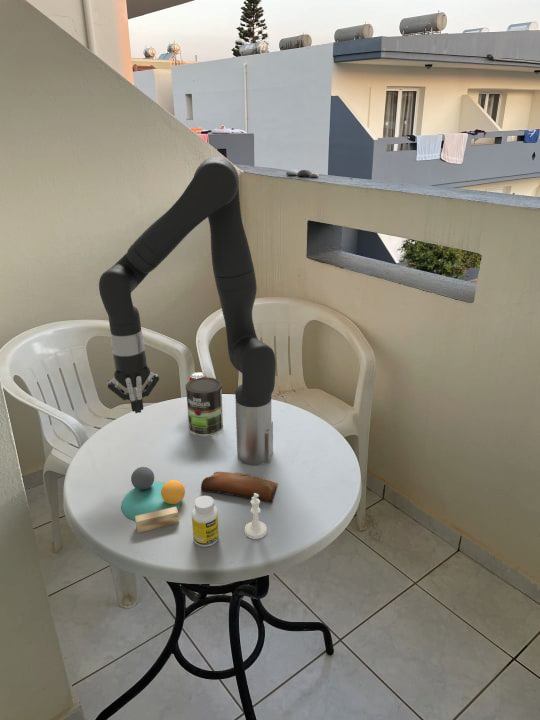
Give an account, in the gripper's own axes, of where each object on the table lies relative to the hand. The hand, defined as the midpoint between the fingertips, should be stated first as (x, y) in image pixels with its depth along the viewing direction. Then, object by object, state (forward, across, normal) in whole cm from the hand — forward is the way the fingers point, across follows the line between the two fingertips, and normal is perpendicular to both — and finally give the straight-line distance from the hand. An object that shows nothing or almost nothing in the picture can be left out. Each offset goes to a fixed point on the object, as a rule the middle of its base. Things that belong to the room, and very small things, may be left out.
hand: (137, 411), depth 128 cm
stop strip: (+15, 0, +26) cm, 30 cm away
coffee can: (+16, -19, -11) cm, 27 cm away
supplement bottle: (+15, -9, +34) cm, 38 cm away
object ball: (+12, -5, +19) cm, 23 cm away
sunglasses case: (+16, -21, +19) cm, 33 cm away
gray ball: (+12, +2, +12) cm, 17 cm away
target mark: (+15, 0, +18) cm, 23 cm away
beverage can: (+16, -20, -22) cm, 34 cm away
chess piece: (+15, -20, +35) cm, 43 cm away
